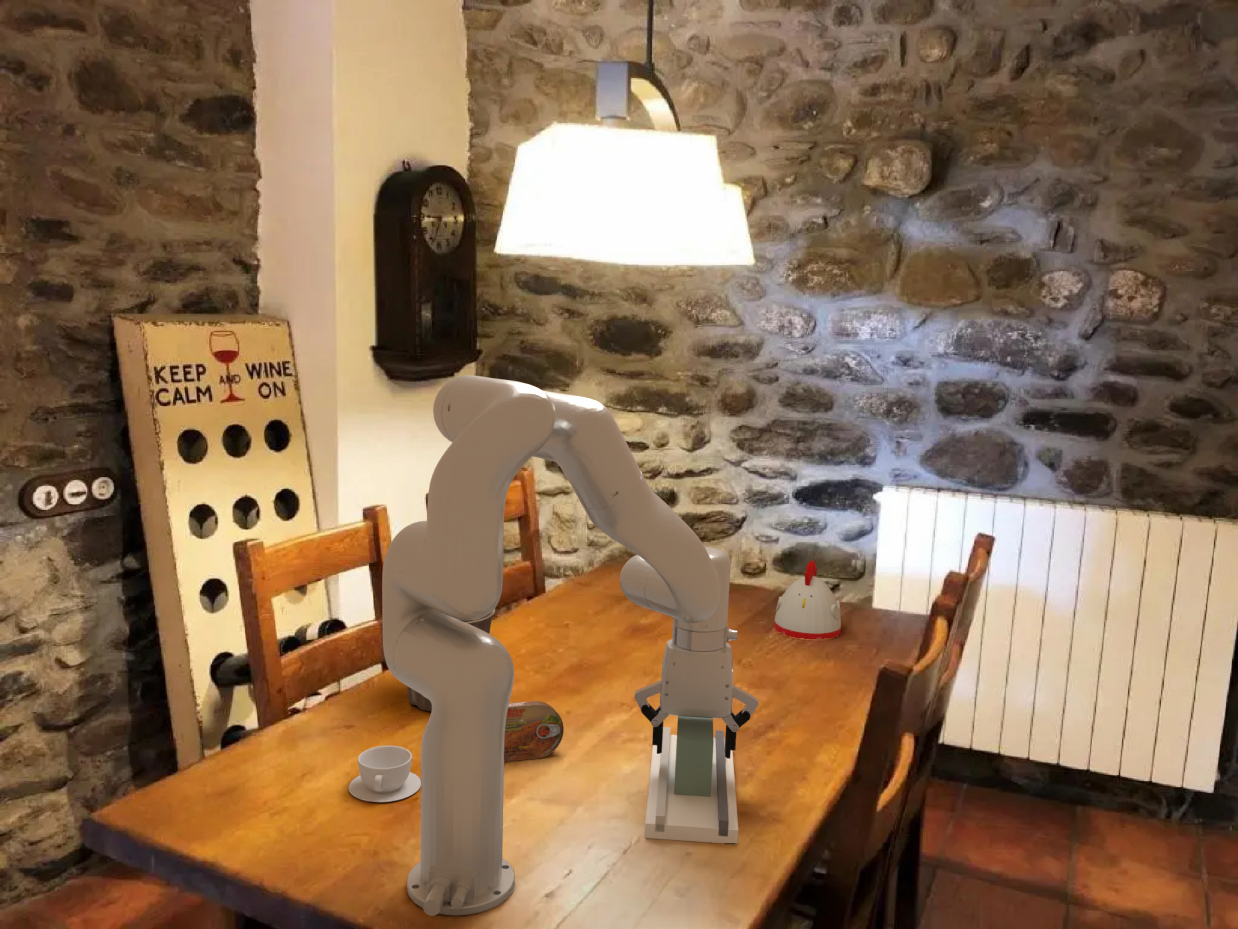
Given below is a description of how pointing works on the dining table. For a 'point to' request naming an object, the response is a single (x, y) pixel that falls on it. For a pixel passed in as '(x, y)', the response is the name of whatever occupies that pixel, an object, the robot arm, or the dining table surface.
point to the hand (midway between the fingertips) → (693, 752)
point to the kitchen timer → (808, 609)
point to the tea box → (694, 756)
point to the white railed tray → (691, 799)
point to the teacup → (384, 775)
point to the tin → (531, 731)
